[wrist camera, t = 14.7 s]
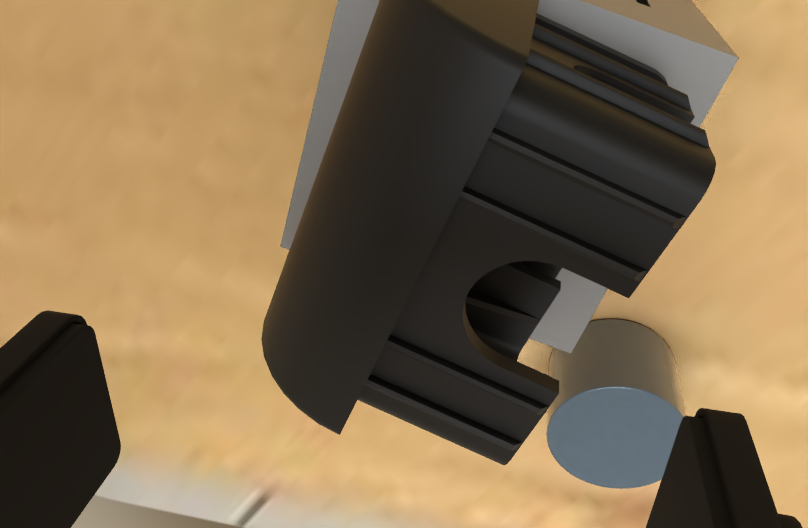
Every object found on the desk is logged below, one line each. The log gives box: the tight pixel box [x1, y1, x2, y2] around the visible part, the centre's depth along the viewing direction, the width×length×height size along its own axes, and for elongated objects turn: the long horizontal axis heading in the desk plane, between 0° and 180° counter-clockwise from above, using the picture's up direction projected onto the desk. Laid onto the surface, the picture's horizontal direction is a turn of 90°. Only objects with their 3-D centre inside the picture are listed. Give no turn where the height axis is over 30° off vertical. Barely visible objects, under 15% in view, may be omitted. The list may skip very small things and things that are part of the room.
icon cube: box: [280, 0, 739, 353], centre depth 24 cm, size 10×10×10 cm
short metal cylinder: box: [547, 319, 686, 489], centre depth 32 cm, size 6×6×5 cm
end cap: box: [262, 0, 716, 465], centre depth 17 cm, size 10×7×7 cm
